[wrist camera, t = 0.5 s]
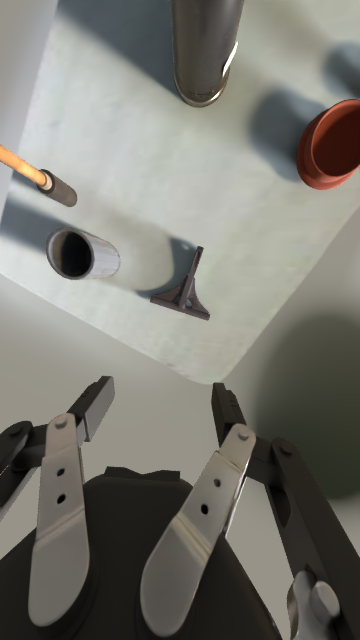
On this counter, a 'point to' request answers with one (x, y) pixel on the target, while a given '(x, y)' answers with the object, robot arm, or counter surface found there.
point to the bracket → (184, 293)
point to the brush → (40, 178)
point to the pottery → (330, 146)
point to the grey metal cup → (81, 255)
